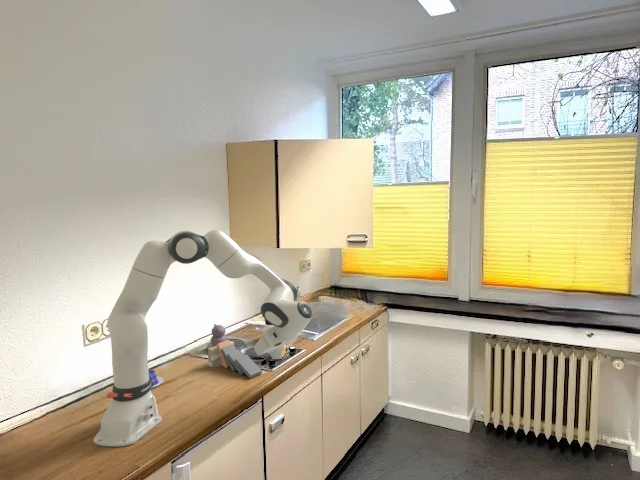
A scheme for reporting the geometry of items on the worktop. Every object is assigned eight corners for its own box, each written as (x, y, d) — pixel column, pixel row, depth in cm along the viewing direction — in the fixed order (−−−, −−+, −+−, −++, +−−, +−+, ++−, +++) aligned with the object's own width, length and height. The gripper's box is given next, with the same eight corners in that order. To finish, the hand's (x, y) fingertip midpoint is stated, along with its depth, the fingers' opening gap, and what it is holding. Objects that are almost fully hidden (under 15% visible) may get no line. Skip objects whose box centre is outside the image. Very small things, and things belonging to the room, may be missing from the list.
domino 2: (253, 367, 192) (239, 349, 197) (242, 372, 187) (227, 353, 193) (252, 370, 193) (237, 352, 198) (241, 375, 188) (226, 356, 194)
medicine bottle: (276, 342, 225) (275, 319, 224) (263, 341, 226) (262, 319, 225) (280, 337, 232) (279, 315, 231) (267, 337, 233) (266, 314, 232)
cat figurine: (229, 350, 216) (228, 326, 214) (213, 353, 213) (211, 329, 211) (225, 344, 224) (224, 321, 222) (209, 347, 220) (208, 324, 219)
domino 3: (262, 370, 188) (246, 354, 194) (250, 375, 184) (235, 358, 190) (261, 373, 189) (245, 357, 195) (249, 378, 184) (234, 361, 190)
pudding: (145, 376, 190) (144, 364, 190) (169, 379, 187) (168, 367, 186) (125, 389, 179) (124, 376, 178) (151, 392, 175) (149, 379, 175)
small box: (281, 360, 202) (280, 338, 201) (269, 359, 203) (268, 337, 202) (286, 353, 210) (285, 332, 209) (275, 353, 211) (274, 331, 210)
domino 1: (245, 364, 195) (233, 344, 200) (234, 369, 191) (222, 347, 195) (243, 366, 196) (231, 346, 201) (232, 371, 192) (220, 350, 196)
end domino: (238, 362, 199) (229, 339, 201) (227, 367, 194) (218, 343, 197) (236, 363, 200) (227, 340, 202) (225, 368, 196) (216, 344, 198)
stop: (234, 359, 205) (233, 342, 204) (212, 367, 197) (211, 350, 195) (230, 357, 207) (229, 340, 206) (208, 365, 198) (207, 348, 197)
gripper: (299, 318, 180) (283, 337, 188) (260, 332, 165) (245, 352, 173) (307, 331, 178) (291, 349, 186) (269, 347, 163) (253, 365, 170)
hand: (268, 350), depth 179 cm, fingers closed
